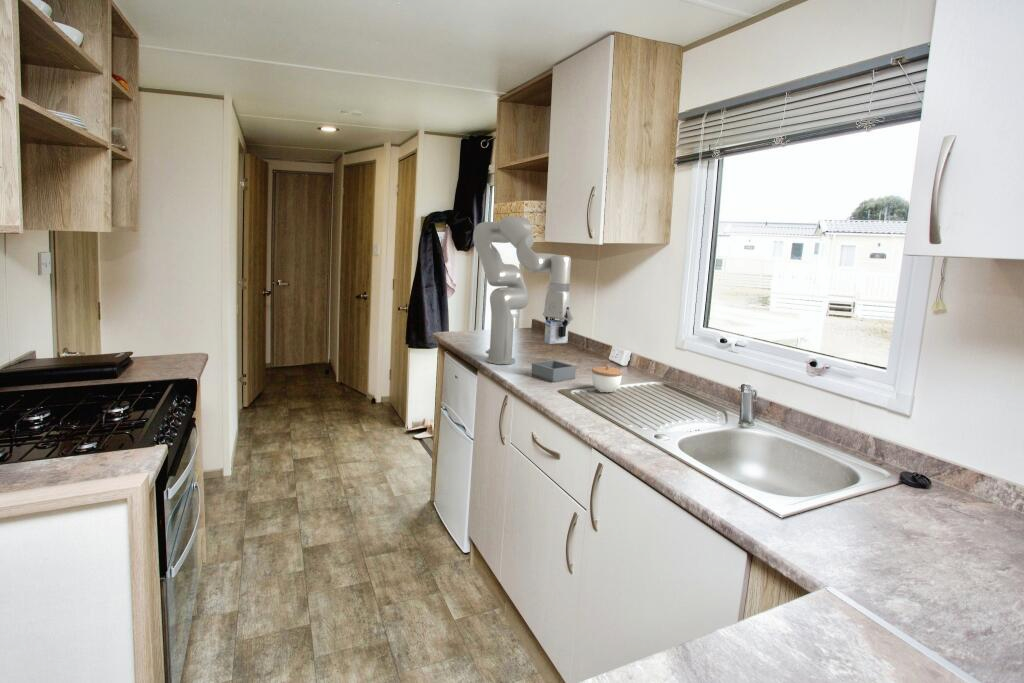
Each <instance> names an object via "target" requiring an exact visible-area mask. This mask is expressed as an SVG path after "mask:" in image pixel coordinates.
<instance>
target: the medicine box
mask: <svg viewBox="0 0 1024 683" xmlns="http://www.w3.org/2000/svg"><path fill="white" fill-rule="evenodd" d="M563 322H564V320H563ZM569 324H570V323H569ZM569 324H568V326H566V336H565V337H559V336H558V335H559V327H560V320H559V319H555V320H546V319H545V325H544V343H546V344H548V345H549V344H550V345H552V344H568V340H569V339H568V337H569Z"/></svg>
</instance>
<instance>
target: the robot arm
mask: <svg viewBox="0 0 1024 683" xmlns="http://www.w3.org/2000/svg"><path fill="white" fill-rule="evenodd" d="M532 232H533V226H532V222H531V221H530V220H529V219H528V218H526V217H524V216H523V217H522V216H510V215H509V216H505V217H503V218H501V219H500V220H499V221H498V222H497V221H483V222H480V223H477V225H476V226H475V228H474V230H473V235H472V236H473V237H472V238H473V239H472V240H473V246H474V247H475V250H476V252H477V255H478V257H479V259H480V261H481V265H482V269H483V272H484V275H485V278H486V281H487V283H488V284H489V286H491V287H496V288H495V289H493V290H492V292H491V293H490V295H489V303H490V304H489V306H490V312H491V313H490V314H491V315H490V316H491V317H490V321H491V322H490V337H489V338H490V339H489V348H488V350H485V353H486V354H487V355H488V356H487V357H486V358H485V362H486V361H487V363H488V362H489V363H488V364H492V363H493V364H494V365H501V364H506V365H512V364H515V363H516V358H514V357H513V343H514V329H515V328H514V323H515V322H514V320H515V319H514V316H513V314H512V312H511V311H515V310H522V309H525V308H526V307H527V306H528V304H529V302H530V301H529V300H530V299H529V298H530V297H529V292H528V289H527V286H526V283H525V279H524V276H523V274H522V271H521V269H520V268H519V267H518V266H517V265H515V264H511V263H505V262H503V259H502V257H501V253H500V252H499V250H498V249H497V248H496V247H495V245H494V244H493V243H499V244H507V243H510V244H511V245H512V246H513V247H514V248H515V249H516V251H515V252H516V257H517V260H518V262H519V263H520V264H521V265H522V266H523V267H524V268H525V269H526V270H527V271H528V272H530V273H533V274H549V284H548V290H547V292H546V296H545V301H544V311H543V313H542V316H543V317H544V319H545V321H546V320H560V327H559V335H558V336H559V337H565V336H566V326H568V327H569V325H568V324H570V323H571V322H572V321H573V319H574V317H573V316H572V314H571V311H572V310H571V308H572V305H571V304H572V303H571V293H570V285H571V284H570V282H571V266H572V265H571V264H572V259H571V256H570V255H566V254H564V255H563V254H556V253H555V254H554V253H547V252H546V253H545V252H544V253H543V252H535V251H533V249H532V247H533V245H534V243H535V237H534V234H533V233H532ZM563 320H564V322H563ZM493 364H492V365H493Z"/></svg>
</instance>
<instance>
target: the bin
mask: <svg viewBox="0 0 1024 683" xmlns="http://www.w3.org/2000/svg"><path fill="white" fill-rule="evenodd" d="M576 367H577V366H575V365H573V364H570V363H565V362H563V361H559V360H555V359H553V360H552V359H551V360H545V361H538V362H532V363H531V369H530V370H531V371H530V372H531V374H530V376H531V375H532V377H534V376H535V378H537V377H538V379H540V378H541V379H540V380H543V379H544V380H543V381H546V380H547V382H550V383H552V382H553V383H558V382H564V380H565V381H570V379H571V380H576V369H577V368H576Z"/></svg>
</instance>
